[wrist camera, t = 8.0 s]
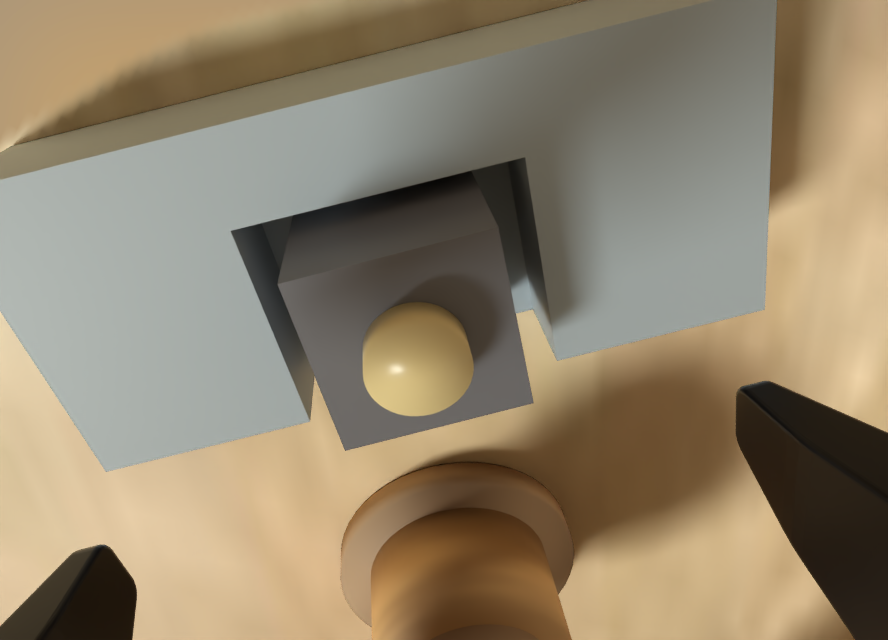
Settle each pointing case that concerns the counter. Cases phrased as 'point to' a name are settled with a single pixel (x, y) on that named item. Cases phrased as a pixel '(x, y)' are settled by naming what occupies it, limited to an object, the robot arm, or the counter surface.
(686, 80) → the notch board
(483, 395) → the block
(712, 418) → the counter surface
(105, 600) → the robot arm
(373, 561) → the bobbin
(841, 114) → the counter surface
